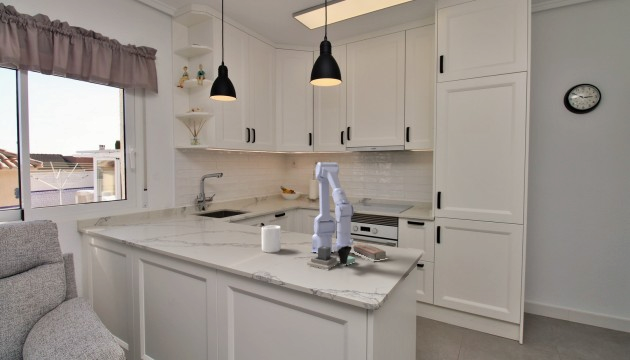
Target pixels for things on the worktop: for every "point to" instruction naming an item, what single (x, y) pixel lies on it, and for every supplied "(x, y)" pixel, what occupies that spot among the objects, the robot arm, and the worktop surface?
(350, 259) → the cable plug
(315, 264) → the plate
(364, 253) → the packaged product
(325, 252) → the block
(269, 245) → the mug
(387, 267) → the worktop surface
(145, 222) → the worktop surface
